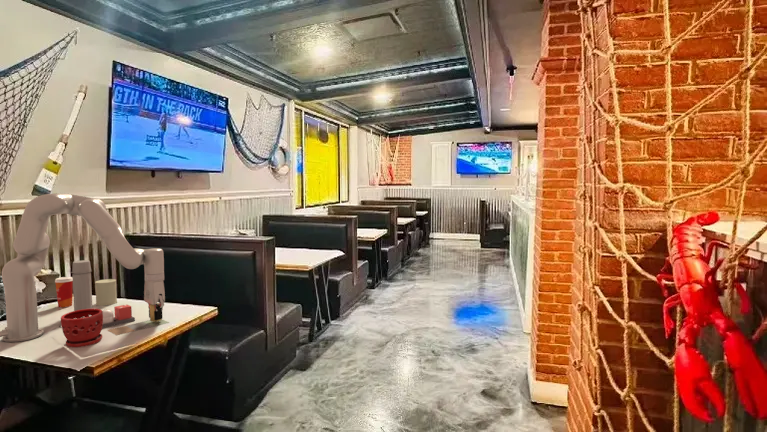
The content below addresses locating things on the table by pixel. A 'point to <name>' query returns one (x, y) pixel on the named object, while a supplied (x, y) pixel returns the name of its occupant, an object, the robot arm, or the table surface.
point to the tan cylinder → (152, 313)
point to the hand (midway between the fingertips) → (155, 317)
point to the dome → (107, 316)
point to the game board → (136, 327)
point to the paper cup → (64, 291)
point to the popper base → (116, 322)
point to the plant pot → (82, 327)
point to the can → (106, 292)
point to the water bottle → (82, 285)
